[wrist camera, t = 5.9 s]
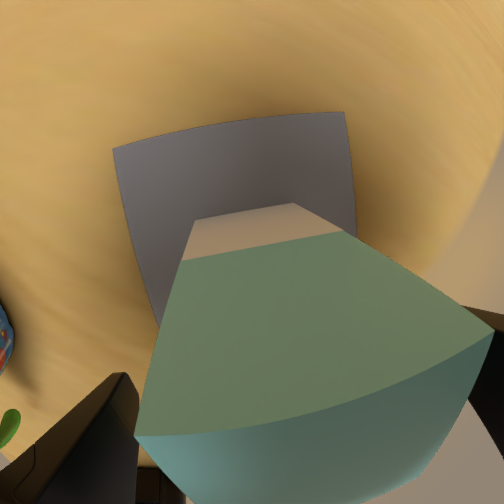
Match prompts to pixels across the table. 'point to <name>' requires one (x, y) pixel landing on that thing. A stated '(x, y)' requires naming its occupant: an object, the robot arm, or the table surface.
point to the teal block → (304, 374)
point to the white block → (253, 229)
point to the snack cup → (3, 345)
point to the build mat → (229, 183)
